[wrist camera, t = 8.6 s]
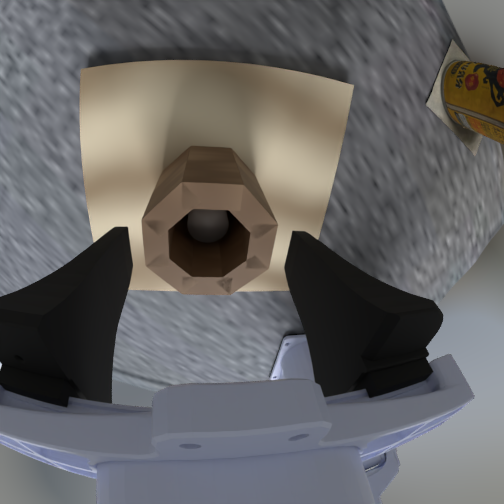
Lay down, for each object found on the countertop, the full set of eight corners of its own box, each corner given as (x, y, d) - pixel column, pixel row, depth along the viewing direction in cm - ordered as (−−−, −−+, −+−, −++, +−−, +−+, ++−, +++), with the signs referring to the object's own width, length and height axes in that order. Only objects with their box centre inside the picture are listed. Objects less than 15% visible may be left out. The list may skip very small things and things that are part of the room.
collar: (247, 232, 19) (263, 294, 14) (162, 229, 17) (149, 293, 13) (259, 150, 15) (285, 188, 11) (162, 145, 14) (139, 181, 10)
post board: (299, 282, 23) (317, 326, 19) (108, 280, 20) (92, 327, 16) (346, 84, 14) (391, 91, 10) (87, 69, 11) (46, 70, 7)
